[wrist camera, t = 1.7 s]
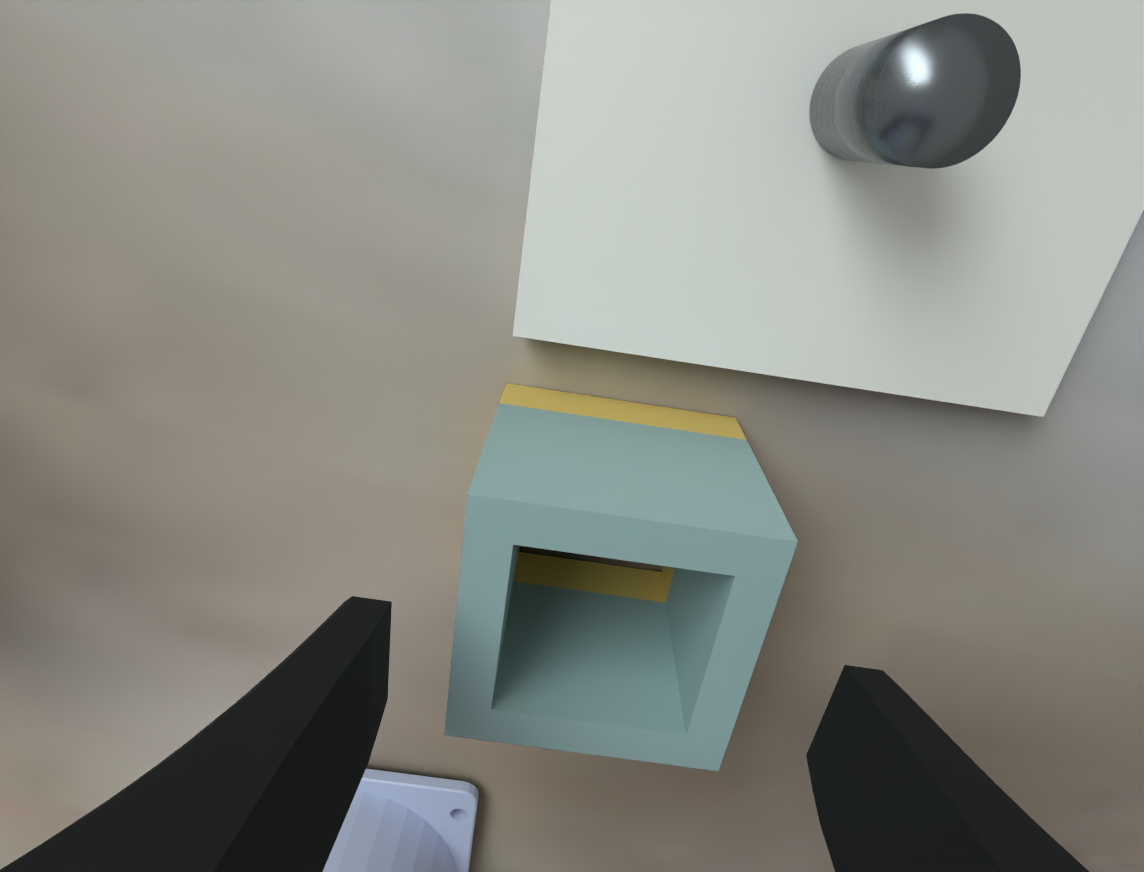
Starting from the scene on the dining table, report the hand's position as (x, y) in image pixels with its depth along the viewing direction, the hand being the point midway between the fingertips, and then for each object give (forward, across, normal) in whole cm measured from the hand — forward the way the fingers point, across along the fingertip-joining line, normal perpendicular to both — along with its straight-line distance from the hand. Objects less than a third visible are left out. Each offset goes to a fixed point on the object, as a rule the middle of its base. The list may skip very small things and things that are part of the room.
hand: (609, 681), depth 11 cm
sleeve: (+6, 0, 0) cm, 6 cm away
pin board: (+6, -3, -9) cm, 11 cm away
